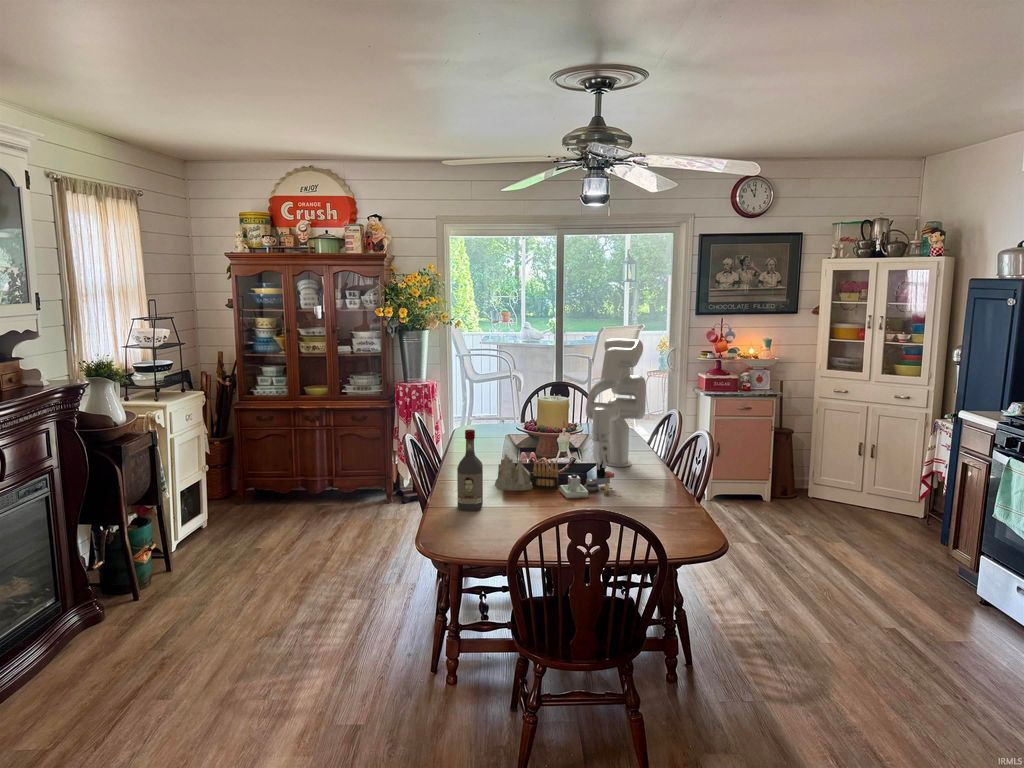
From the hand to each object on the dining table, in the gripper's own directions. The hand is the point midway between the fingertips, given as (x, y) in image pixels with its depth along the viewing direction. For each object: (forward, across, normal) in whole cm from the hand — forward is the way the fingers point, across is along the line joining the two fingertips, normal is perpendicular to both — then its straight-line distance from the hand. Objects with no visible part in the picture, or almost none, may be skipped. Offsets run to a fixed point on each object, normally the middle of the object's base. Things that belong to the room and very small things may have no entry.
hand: (600, 478), depth 289 cm
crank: (+1, -5, +2) cm, 6 cm away
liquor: (+1, -19, +58) cm, 61 cm away
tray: (+2, -10, +15) cm, 18 cm away
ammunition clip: (+3, 0, +24) cm, 24 cm away
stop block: (+2, -10, +15) cm, 18 cm away
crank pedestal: (+3, -10, +3) cm, 11 cm away
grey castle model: (+3, +6, +36) cm, 37 cm away
